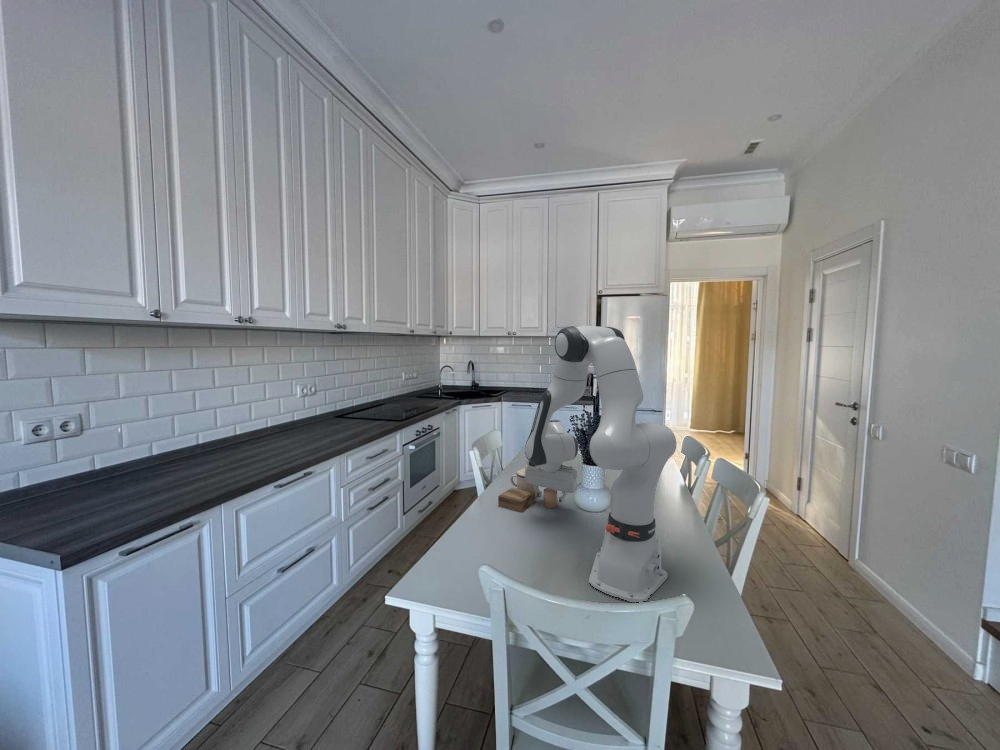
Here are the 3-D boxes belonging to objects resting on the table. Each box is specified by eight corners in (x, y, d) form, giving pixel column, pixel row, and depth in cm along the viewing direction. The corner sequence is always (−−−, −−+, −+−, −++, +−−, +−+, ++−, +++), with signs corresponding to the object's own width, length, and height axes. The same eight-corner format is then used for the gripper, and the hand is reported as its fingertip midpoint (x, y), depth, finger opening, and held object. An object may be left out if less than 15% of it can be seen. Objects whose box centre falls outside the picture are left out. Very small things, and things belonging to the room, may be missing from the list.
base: (521, 512, 141) (521, 500, 141) (498, 506, 147) (498, 495, 146) (534, 503, 150) (534, 492, 149) (512, 497, 155) (512, 486, 155)
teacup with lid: (542, 492, 160) (542, 464, 159) (534, 500, 152) (534, 470, 151) (515, 487, 166) (515, 460, 165) (506, 495, 157) (506, 466, 156)
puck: (553, 509, 144) (553, 493, 143) (541, 506, 146) (541, 490, 146) (559, 505, 148) (559, 489, 147) (547, 502, 151) (547, 486, 150)
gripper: (580, 465, 143) (579, 502, 144) (530, 456, 154) (530, 490, 155) (573, 470, 138) (572, 508, 139) (522, 460, 149) (522, 496, 150)
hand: (550, 499), depth 147 cm, fingers open, 8 cm apart
